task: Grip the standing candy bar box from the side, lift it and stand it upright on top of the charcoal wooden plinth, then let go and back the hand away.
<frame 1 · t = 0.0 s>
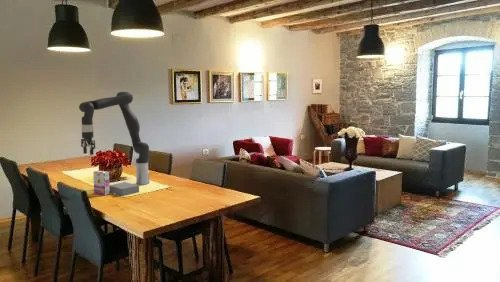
hand: (88, 154, 272), 29 cm above the table, tool pointing down, fingers open, 8 cm apart
candy bar box: (102, 194, 279), on the table
charcoal plinth: (123, 192, 285), on the table
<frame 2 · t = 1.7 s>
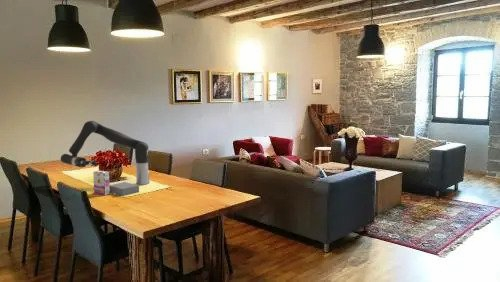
hand: (90, 164, 285), 20 cm above the table, tool horizontal, fingers open, 8 cm apart
nothing on the table moved.
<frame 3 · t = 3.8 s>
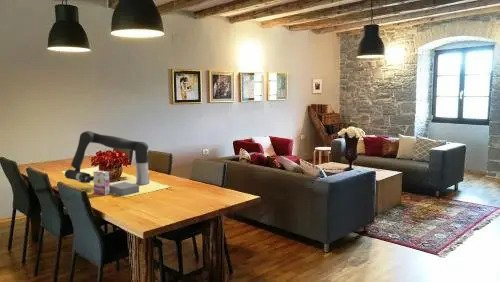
hand: (95, 180, 283), 8 cm above the table, tool horizontal, fingers open, 8 cm apart
nothing on the table moved.
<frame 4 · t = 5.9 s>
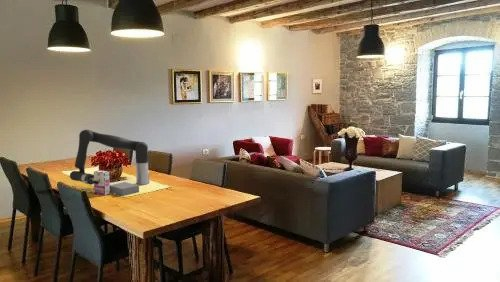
hand: (101, 182, 278), 9 cm above the table, tool horizontal, fingers closed on candy bar box, 5 cm apart
candy bar box: (102, 194, 279), on the table, touching gripper
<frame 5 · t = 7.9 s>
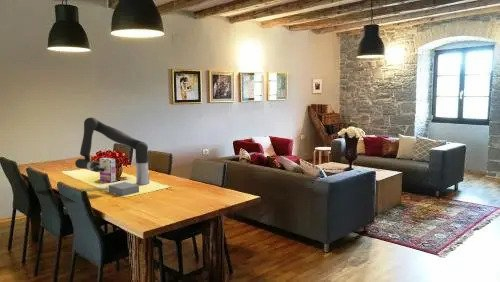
hand: (107, 169, 278), 18 cm above the table, tool horizontal, fingers closed on candy bar box, 5 cm apart
candy bar box: (108, 181, 279), point 9 cm above the table, touching gripper
when the fingers open (15 cm above the table, at t = 9.9 s): candy bar box drops 1 cm, resting on charcoal plinth.
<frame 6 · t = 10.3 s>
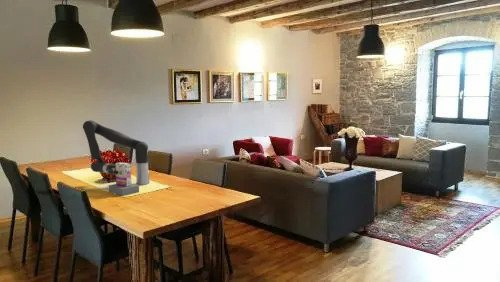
hand: (122, 171, 283), 15 cm above the table, tool horizontal, fingers open, 8 cm apart
candy bar box: (123, 185, 284), point 5 cm above the table, touching charcoal plinth
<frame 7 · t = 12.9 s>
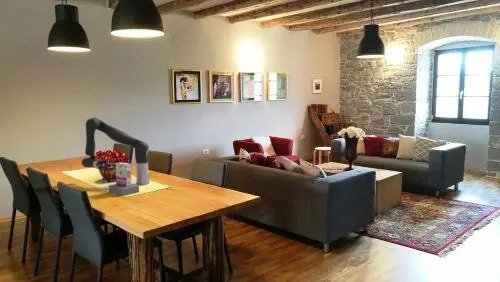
hand: (112, 167, 291), 17 cm above the table, tool horizontal, fingers open, 8 cm apart
nothing on the table moved.
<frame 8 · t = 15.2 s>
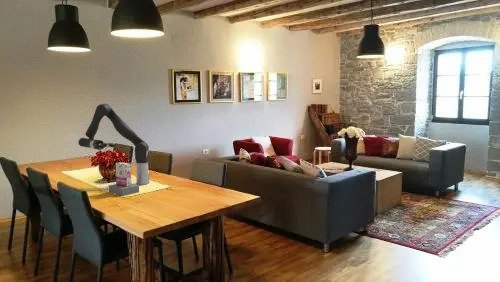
hand: (108, 146, 291), 32 cm above the table, tool horizontal, fingers open, 8 cm apart
nothing on the table moved.
at the end: candy bar box inside the target area on the charcoal plinth (0.2 cm from its centre), point 4.8 cm above the charcoal plinth's base; candy bar box tilted 0°; the gripper is holding nothing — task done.
